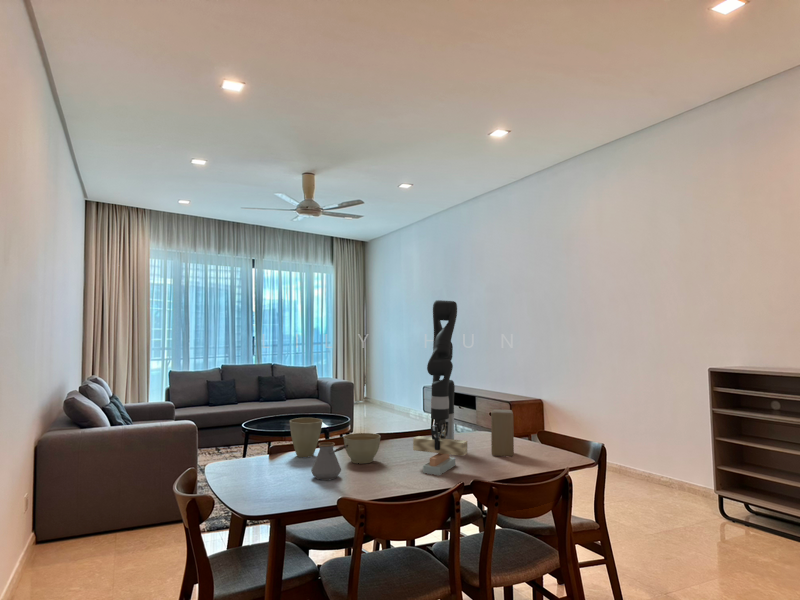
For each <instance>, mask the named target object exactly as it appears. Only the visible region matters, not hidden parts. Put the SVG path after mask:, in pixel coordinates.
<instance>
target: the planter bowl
mask: <svg viewBox="0 0 800 600" xmlns="http://www.w3.org/2000/svg"><path fill="white" fill-rule="evenodd" d="M343 443H344V445H349V446H348V447H346V449H345V451H346V454H347V455H348V457H349V458H350V462H351V463H353V464H358V463H359V464H360V465H361V464H369V463H373V462H374V458H375V457H376V455H377V453H378V451H379V448H380V444H381V435H380V434H378V433H371V432H357V433H356V432H355V433H350V434H346V435H344V436H343ZM344 445H343V446H344ZM350 447H351V448H350ZM349 449H350V450H349Z"/></svg>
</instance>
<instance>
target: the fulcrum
mask: <svg viewBox="0 0 800 600" xmlns="http://www.w3.org/2000/svg"><path fill="white" fill-rule="evenodd" d="M450 455H451V454H442V453H435V455H432V456H431V457H429V462H427V463H425V464H423V466H422V467H423V468H422V470H423V473H422V474H425V473H427V475H432V474H434V475H433V476H441V475H443V474H444V473H446V472H447V471H449V470H451V469H452V468H454V467H455V466H456V457H451V456H450ZM442 473H443V474H442Z"/></svg>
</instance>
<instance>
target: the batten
mask: <svg viewBox="0 0 800 600" xmlns="http://www.w3.org/2000/svg"><path fill="white" fill-rule="evenodd" d="M412 445H413V446H412V448H413V449H412V450H413V451H414V452H415V451H416V452H423V453H434V454H438V453H442V454H450V455H452V456H460V457H461V456H466V455H468V440H463V439H462V440H461V439H455V438H454V439H443V438H440V450H435V440H432V436H423V435H422V436H420V435H418V436H415V437H413V439H412Z"/></svg>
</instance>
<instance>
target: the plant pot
mask: <svg viewBox="0 0 800 600" xmlns="http://www.w3.org/2000/svg"><path fill="white" fill-rule="evenodd" d="M323 421H324V420H323V419H321V418H315V417H298V418H297V417H296V418H293V419H290V420H289V428H290V436H291V440H292V445H293V448H294V451H295V455H296V457H298V458H303V457H306V458H311V457H312V458H313V456H314V455H315V453H316V449H317V447H318V444H319V440H320V436H321V432H322V427H323Z"/></svg>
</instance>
